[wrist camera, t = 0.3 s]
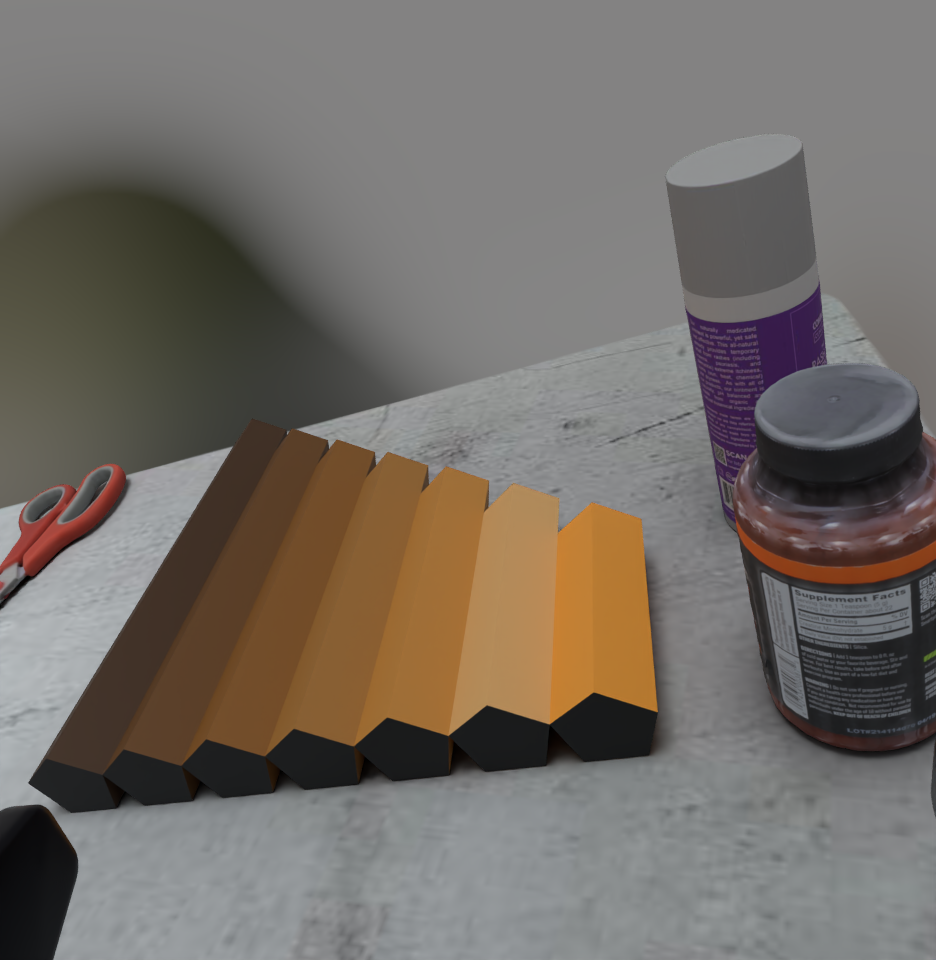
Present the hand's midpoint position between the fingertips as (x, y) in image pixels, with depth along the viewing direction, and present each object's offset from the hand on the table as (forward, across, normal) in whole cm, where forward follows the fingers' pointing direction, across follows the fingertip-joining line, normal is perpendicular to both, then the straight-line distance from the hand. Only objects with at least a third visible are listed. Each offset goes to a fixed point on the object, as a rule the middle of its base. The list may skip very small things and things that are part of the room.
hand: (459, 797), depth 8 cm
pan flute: (+28, +9, +16) cm, 33 cm away
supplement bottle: (+16, -9, +15) cm, 24 cm away
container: (+26, -9, +14) cm, 31 cm away
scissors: (+34, +34, +18) cm, 51 cm away
